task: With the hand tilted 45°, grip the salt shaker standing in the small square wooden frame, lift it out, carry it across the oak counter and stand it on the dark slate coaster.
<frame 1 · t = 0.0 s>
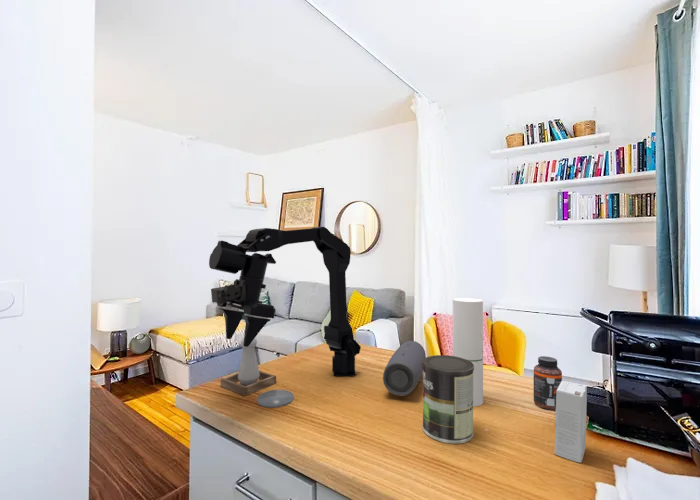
hand: (236, 342, 81), 15 cm above the kitchen counter, tool pointing down, fingers open, 9 cm apart
bluetooth speaker: (406, 385, 95), on the kitchen counter
coaster: (275, 399, 85), on the kitchen counter
square wooden frame: (248, 384, 95), on the kitchen counter
salt shaker: (248, 385, 95), resting in square wooden frame
supplement bottle: (547, 406, 82), on the kitchen counter
cylindrical container: (467, 400, 85), on the kitchen counter
coffee can: (447, 431, 71), on the kitchen counter
skincare box: (571, 453, 63), on the kitchen counter
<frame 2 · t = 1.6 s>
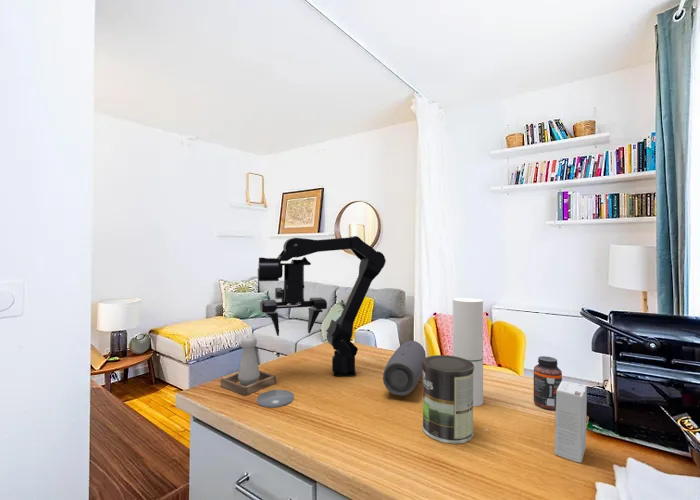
hand: (293, 334, 100), 13 cm above the kitchen counter, tool pointing down, fingers open, 9 cm apart
nothing on the kitchen counter moved.
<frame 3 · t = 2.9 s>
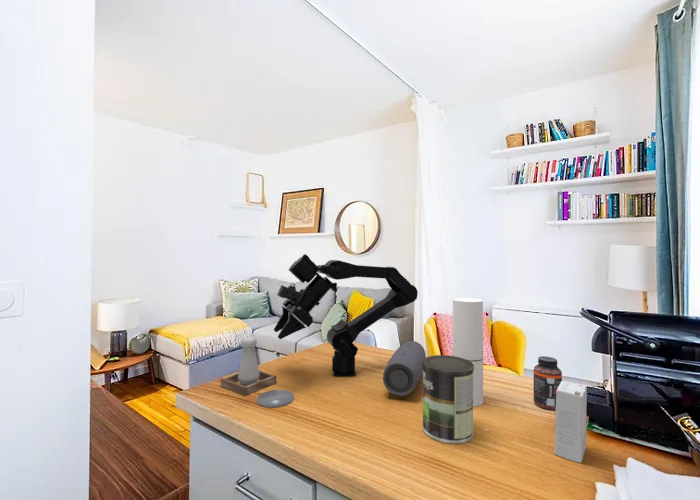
hand: (276, 334, 98), 13 cm above the kitchen counter, tool tilted 45°, fingers open, 9 cm apart
nothing on the kitchen counter moved.
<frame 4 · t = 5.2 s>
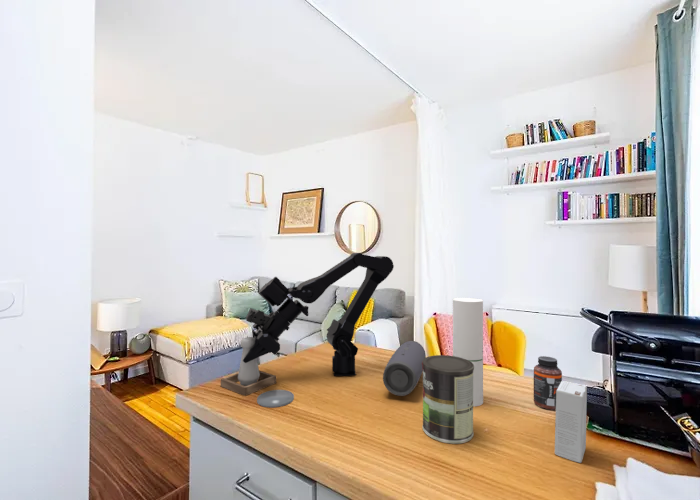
hand: (243, 359, 94), 7 cm above the kitchen counter, tool tilted 45°, fingers closed on salt shaker, 4 cm apart
salt shaker: (248, 385, 95), resting in square wooden frame, touching gripper
everything else where it was.
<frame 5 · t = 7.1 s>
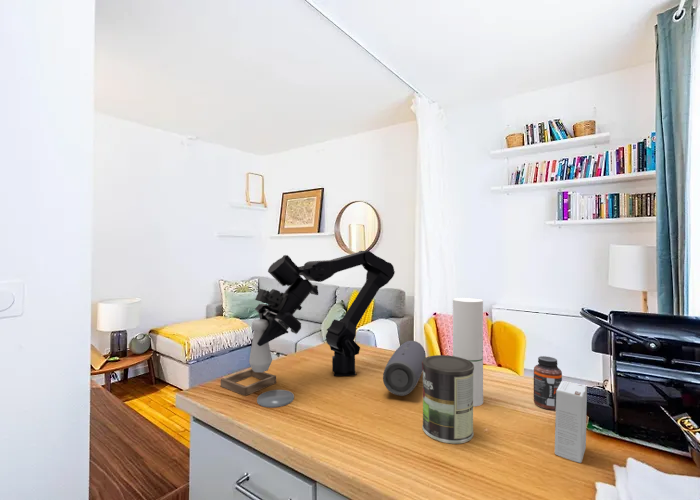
hand: (255, 343, 88), 13 cm above the kitchen counter, tool tilted 45°, fingers closed on salt shaker, 3 cm apart
salt shaker: (260, 370, 89), point 6 cm above the kitchen counter, touching gripper
everything else where it was.
when the fingers open (9 cm above the kitchen counter, at t = 8.9 s): salt shaker drops 1 cm, resting on coaster.
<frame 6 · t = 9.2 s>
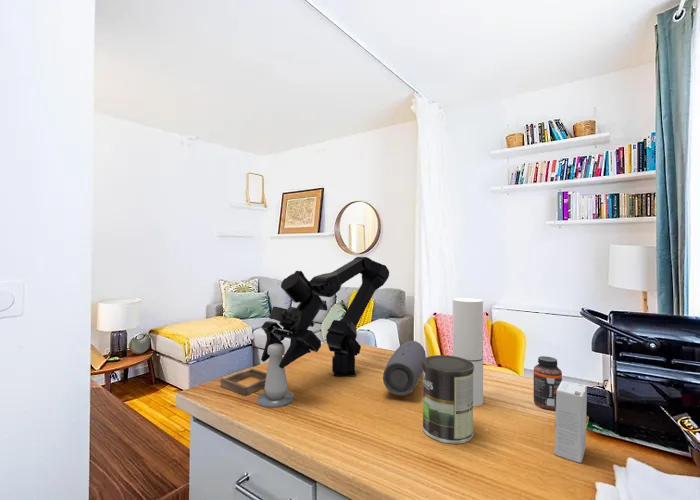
hand: (271, 364, 84), 9 cm above the kitchen counter, tool tilted 45°, fingers open, 7 cm apart
salt shaker: (276, 397, 86), resting on coaster
everything else where it was.
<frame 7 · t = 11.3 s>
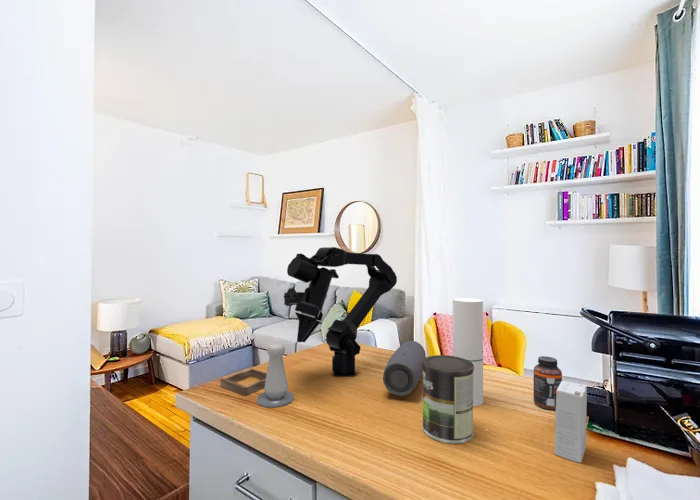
hand: (300, 342, 94), 12 cm above the kitchen counter, tool tilted 20°, fingers open, 9 cm apart
nothing on the kitchen counter moved.
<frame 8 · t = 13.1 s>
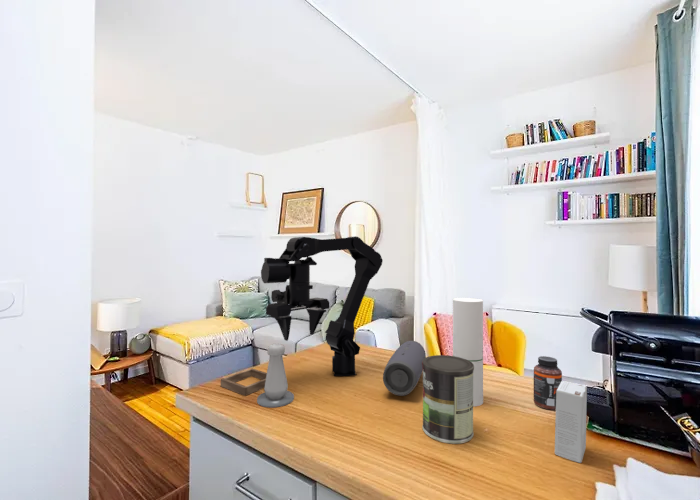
hand: (299, 337, 96), 13 cm above the kitchen counter, tool pointing down, fingers open, 9 cm apart
nothing on the kitchen counter moved.
at the end: salt shaker 0.2 cm from the coaster (horizontally); salt shaker tilted 0°; the gripper is holding nothing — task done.
